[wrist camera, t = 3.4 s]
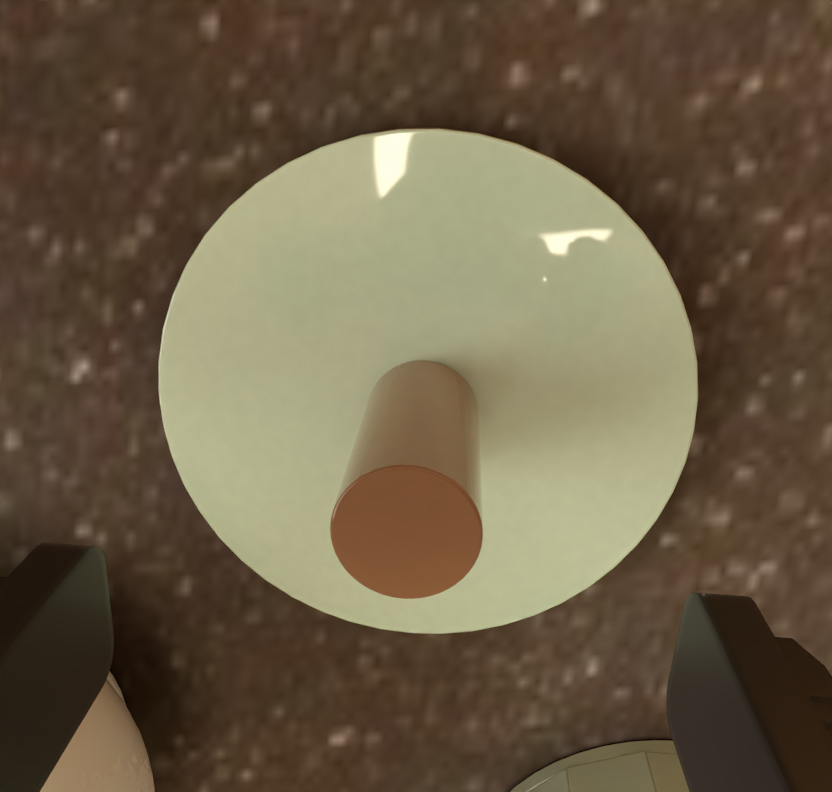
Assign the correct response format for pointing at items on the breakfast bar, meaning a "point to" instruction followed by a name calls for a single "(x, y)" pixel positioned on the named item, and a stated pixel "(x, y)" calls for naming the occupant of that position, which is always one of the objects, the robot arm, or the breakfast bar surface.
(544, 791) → the canister
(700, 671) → the robot arm
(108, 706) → the lidded bowl
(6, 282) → the breakfast bar surface
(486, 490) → the canister lid
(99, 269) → the breakfast bar surface
